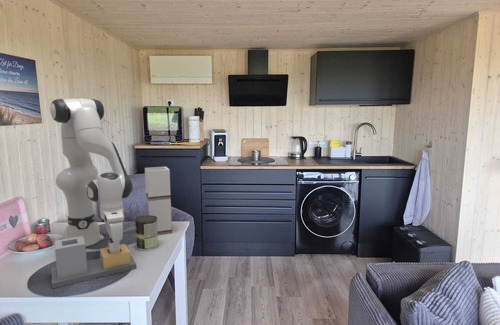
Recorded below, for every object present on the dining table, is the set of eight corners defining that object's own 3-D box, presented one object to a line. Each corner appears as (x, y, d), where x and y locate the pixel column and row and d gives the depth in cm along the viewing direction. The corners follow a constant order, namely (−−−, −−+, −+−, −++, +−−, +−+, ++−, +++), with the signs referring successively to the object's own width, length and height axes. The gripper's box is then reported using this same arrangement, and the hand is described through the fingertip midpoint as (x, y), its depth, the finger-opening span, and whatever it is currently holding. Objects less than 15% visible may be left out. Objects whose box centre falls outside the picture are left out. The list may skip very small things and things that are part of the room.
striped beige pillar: (168, 227, 184) (166, 166, 179) (171, 233, 175) (169, 169, 170) (147, 229, 180) (144, 167, 175) (150, 236, 170) (146, 170, 165)
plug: (109, 260, 137) (108, 237, 136) (119, 258, 139) (117, 236, 138) (111, 264, 134) (109, 240, 132) (120, 262, 136) (119, 239, 134)
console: (51, 273, 131) (48, 240, 129) (129, 256, 146) (127, 226, 144) (52, 288, 119) (48, 252, 117) (136, 268, 135) (134, 236, 132)
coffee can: (133, 251, 152) (132, 222, 150) (139, 242, 162) (138, 215, 160) (156, 250, 153) (154, 221, 151) (160, 241, 163) (159, 214, 161)
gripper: (100, 207, 140) (102, 237, 142) (107, 220, 123) (109, 254, 125) (115, 205, 144) (117, 235, 146) (125, 217, 127) (126, 251, 129)
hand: (114, 244), depth 135 cm, fingers open, 8 cm apart
